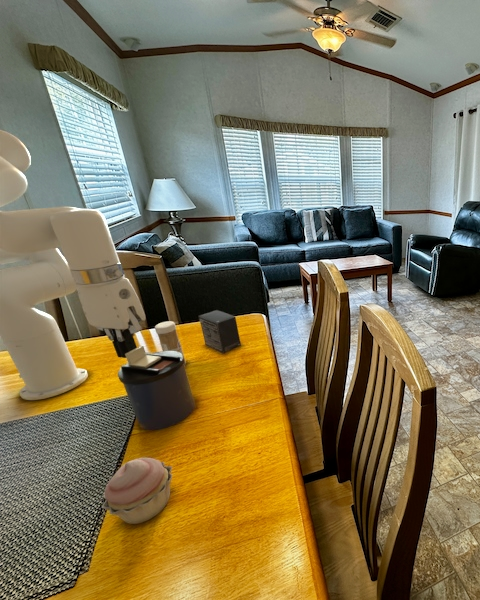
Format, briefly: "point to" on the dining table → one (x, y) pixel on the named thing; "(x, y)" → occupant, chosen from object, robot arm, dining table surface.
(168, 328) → the sprinkles bottle
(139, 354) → the slider
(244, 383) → the dining table surface
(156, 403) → the dark blue canister
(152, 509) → the cupcake
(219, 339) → the small box
